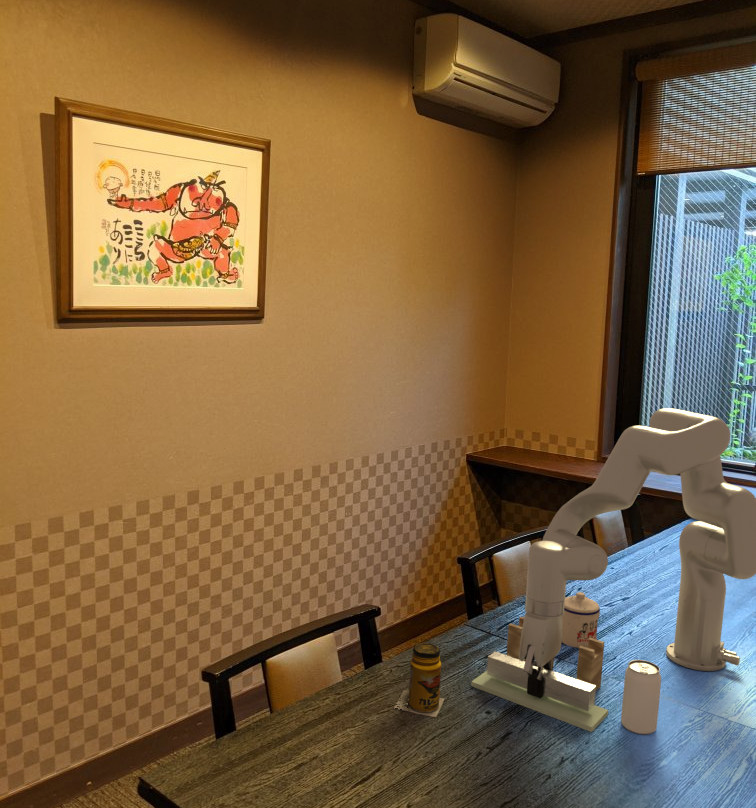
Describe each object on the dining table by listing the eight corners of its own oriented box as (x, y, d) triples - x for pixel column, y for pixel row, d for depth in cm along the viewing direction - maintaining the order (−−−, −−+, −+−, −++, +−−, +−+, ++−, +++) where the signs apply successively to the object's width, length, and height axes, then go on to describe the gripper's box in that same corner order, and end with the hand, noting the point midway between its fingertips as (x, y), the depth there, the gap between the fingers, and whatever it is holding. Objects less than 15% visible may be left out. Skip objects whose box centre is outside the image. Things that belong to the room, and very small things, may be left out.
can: (656, 721, 153) (662, 662, 151) (656, 738, 147) (662, 677, 145) (621, 714, 155) (626, 656, 153) (620, 731, 149) (625, 671, 147)
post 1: (530, 662, 175) (533, 620, 174) (518, 672, 170) (521, 628, 169) (518, 658, 177) (521, 616, 175) (505, 667, 172) (508, 624, 171)
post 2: (600, 686, 165) (604, 641, 164) (589, 697, 161) (592, 651, 159) (587, 681, 167) (590, 637, 166) (575, 692, 163) (578, 647, 161)
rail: (594, 705, 153) (595, 685, 153) (588, 711, 151) (589, 691, 150) (494, 669, 166) (495, 651, 166) (486, 674, 164) (487, 656, 164)
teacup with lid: (580, 652, 181) (584, 604, 179) (549, 638, 188) (552, 591, 186) (612, 640, 188) (616, 593, 186) (581, 626, 195) (585, 581, 193)
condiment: (436, 717, 151) (439, 658, 149) (393, 709, 153) (396, 650, 152) (444, 699, 158) (447, 642, 156) (403, 691, 160) (406, 635, 159)
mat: (607, 714, 154) (608, 710, 154) (591, 732, 148) (592, 727, 148) (490, 672, 170) (490, 667, 170) (471, 686, 164) (471, 681, 163)
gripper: (545, 588, 165) (540, 671, 167) (507, 612, 152) (502, 701, 155) (579, 597, 160) (573, 682, 163) (543, 623, 147) (537, 715, 150)
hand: (539, 691), depth 159 cm, fingers closed on rail, 3 cm apart
